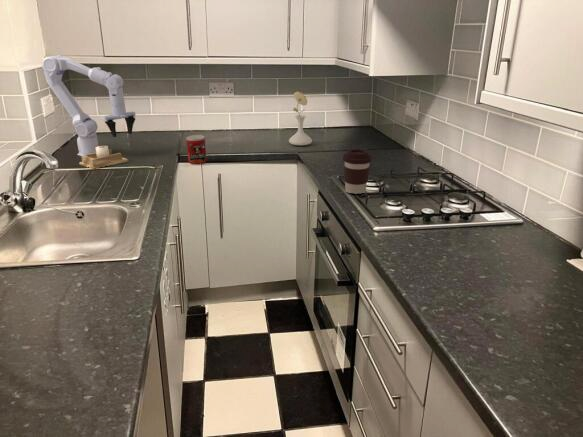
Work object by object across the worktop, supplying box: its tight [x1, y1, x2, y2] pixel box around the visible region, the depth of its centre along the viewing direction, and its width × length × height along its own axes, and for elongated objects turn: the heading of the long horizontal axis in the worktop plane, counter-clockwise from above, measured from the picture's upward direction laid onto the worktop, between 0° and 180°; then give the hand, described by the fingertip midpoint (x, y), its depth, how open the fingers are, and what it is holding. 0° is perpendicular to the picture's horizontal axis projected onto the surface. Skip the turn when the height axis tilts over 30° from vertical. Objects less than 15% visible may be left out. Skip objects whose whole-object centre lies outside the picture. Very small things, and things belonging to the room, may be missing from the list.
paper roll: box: [96, 145, 109, 158], centre depth 201 cm, size 5×5×6 cm
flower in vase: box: [288, 91, 313, 146], centre depth 225 cm, size 13×11×25 cm
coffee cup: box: [342, 148, 373, 194], centre depth 166 cm, size 10×10×15 cm
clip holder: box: [79, 148, 129, 171], centre depth 202 cm, size 12×16×4 cm
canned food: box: [186, 134, 207, 166], centre depth 201 cm, size 8×8×11 cm
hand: (122, 135), depth 209 cm, fingers open, 7 cm apart
